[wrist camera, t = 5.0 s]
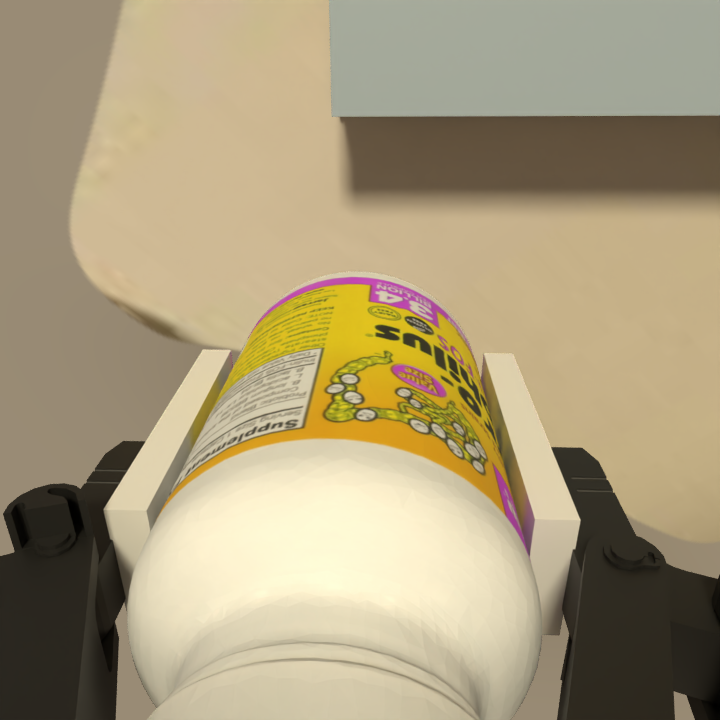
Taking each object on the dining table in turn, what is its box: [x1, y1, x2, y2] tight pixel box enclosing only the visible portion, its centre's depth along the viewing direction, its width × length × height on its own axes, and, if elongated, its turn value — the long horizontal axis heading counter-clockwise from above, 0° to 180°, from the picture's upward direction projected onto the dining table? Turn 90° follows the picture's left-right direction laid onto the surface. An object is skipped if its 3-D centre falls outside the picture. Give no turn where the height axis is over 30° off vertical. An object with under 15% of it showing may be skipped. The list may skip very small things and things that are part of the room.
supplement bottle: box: [127, 271, 542, 720], centre depth 13 cm, size 7×7×13 cm
